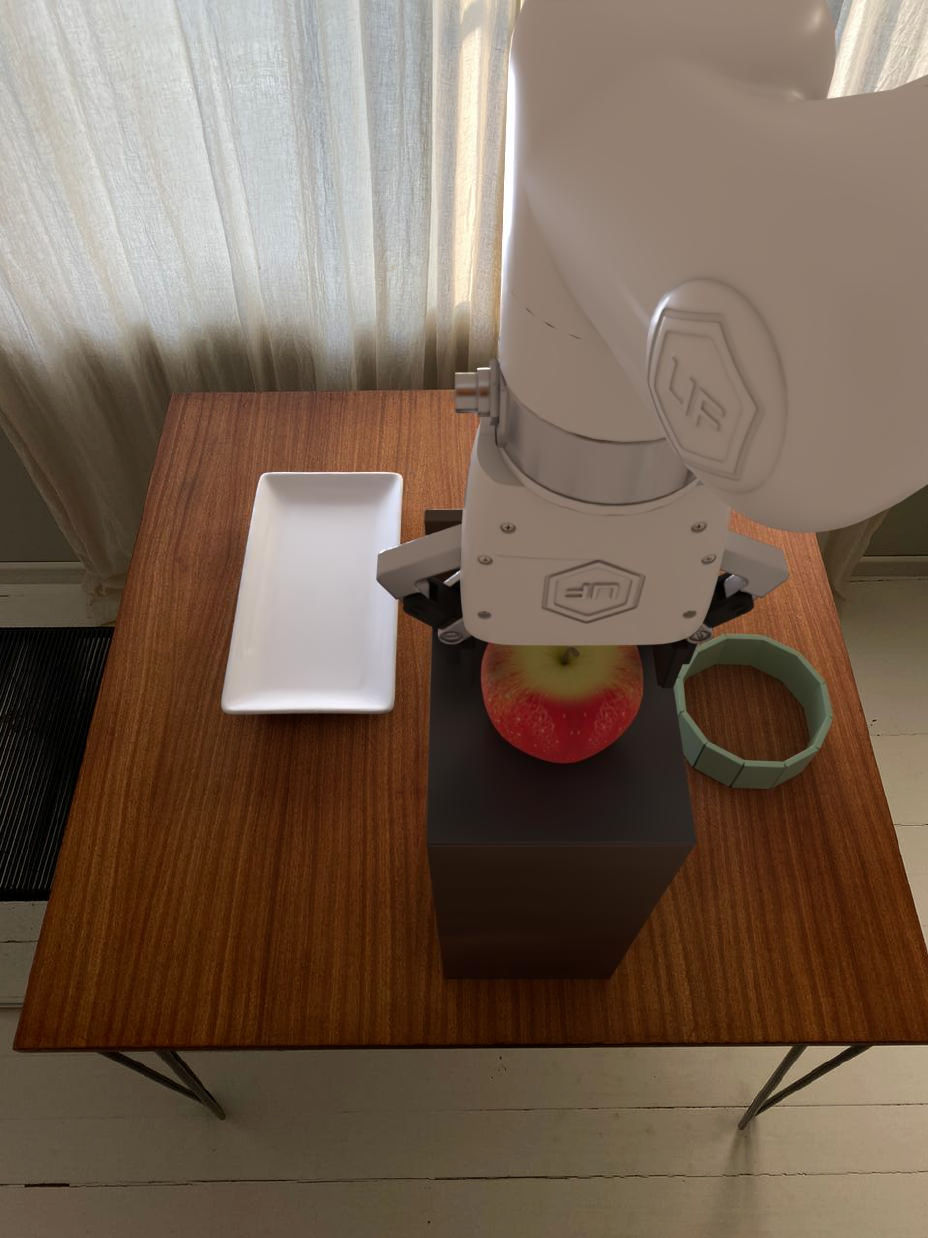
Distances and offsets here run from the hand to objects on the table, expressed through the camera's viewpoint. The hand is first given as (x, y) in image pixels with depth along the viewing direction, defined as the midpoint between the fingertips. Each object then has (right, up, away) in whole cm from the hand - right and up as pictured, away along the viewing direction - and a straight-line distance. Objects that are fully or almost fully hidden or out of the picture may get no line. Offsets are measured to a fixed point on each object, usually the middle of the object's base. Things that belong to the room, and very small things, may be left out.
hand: (564, 663), depth 44 cm
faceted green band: (+22, -8, +43) cm, 49 cm away
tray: (-20, +4, +52) cm, 56 cm away
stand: (0, -22, +34) cm, 40 cm away
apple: (0, -4, +6) cm, 7 cm away
